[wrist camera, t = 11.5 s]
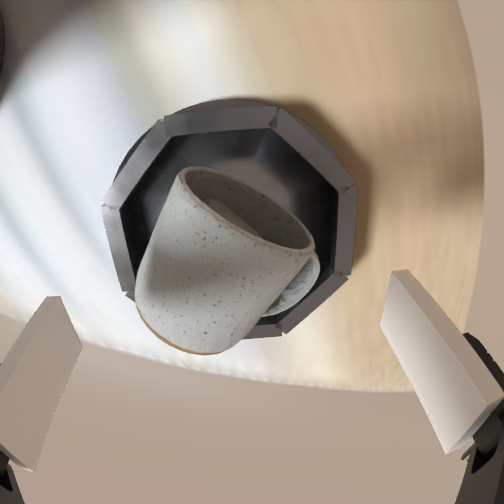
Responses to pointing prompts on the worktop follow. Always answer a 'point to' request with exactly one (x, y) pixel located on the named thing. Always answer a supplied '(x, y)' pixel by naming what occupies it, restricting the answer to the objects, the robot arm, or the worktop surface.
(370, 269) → the worktop surface
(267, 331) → the ring plate
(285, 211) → the ceramic mug
